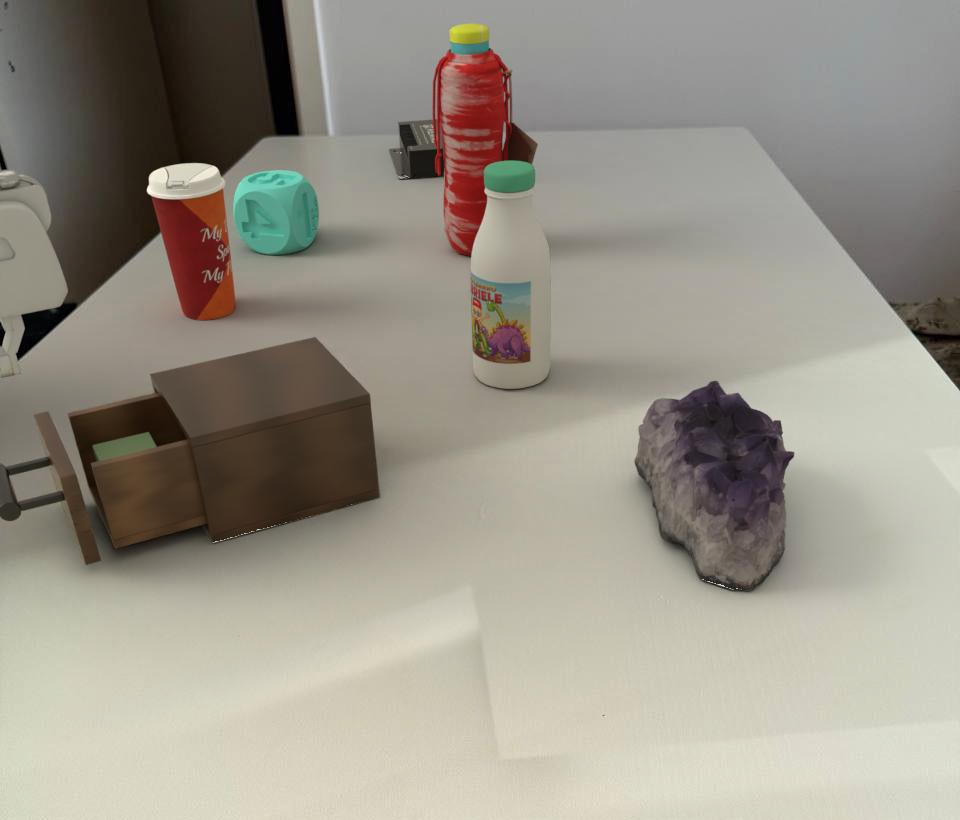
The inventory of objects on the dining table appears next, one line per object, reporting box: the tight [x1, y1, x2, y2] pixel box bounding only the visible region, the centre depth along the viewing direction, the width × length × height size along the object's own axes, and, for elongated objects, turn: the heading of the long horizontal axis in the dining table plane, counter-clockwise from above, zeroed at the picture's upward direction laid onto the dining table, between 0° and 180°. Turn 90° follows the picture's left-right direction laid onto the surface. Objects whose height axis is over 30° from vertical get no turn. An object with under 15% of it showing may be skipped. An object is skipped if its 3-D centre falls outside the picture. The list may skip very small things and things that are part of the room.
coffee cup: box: [146, 162, 236, 321], centre depth 124 cm, size 8×8×15 cm
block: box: [92, 432, 157, 462], centre depth 92 cm, size 5×5×5 cm
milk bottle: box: [470, 161, 552, 390], centre depth 107 cm, size 8×8×20 cm
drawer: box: [0, 392, 207, 566], centre depth 91 cm, size 18×11×8 cm, turn 117°
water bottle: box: [431, 23, 538, 257], centre depth 134 cm, size 12×8×25 cm, turn 95°
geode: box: [633, 380, 795, 591], centre depth 89 cm, size 20×12×10 cm, turn 6°
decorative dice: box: [232, 169, 320, 256], centre depth 142 cm, size 8×8×8 cm
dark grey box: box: [388, 118, 444, 179], centre depth 164 cm, size 20×14×17 cm
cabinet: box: [149, 336, 381, 543], centre depth 95 cm, size 15×13×10 cm
